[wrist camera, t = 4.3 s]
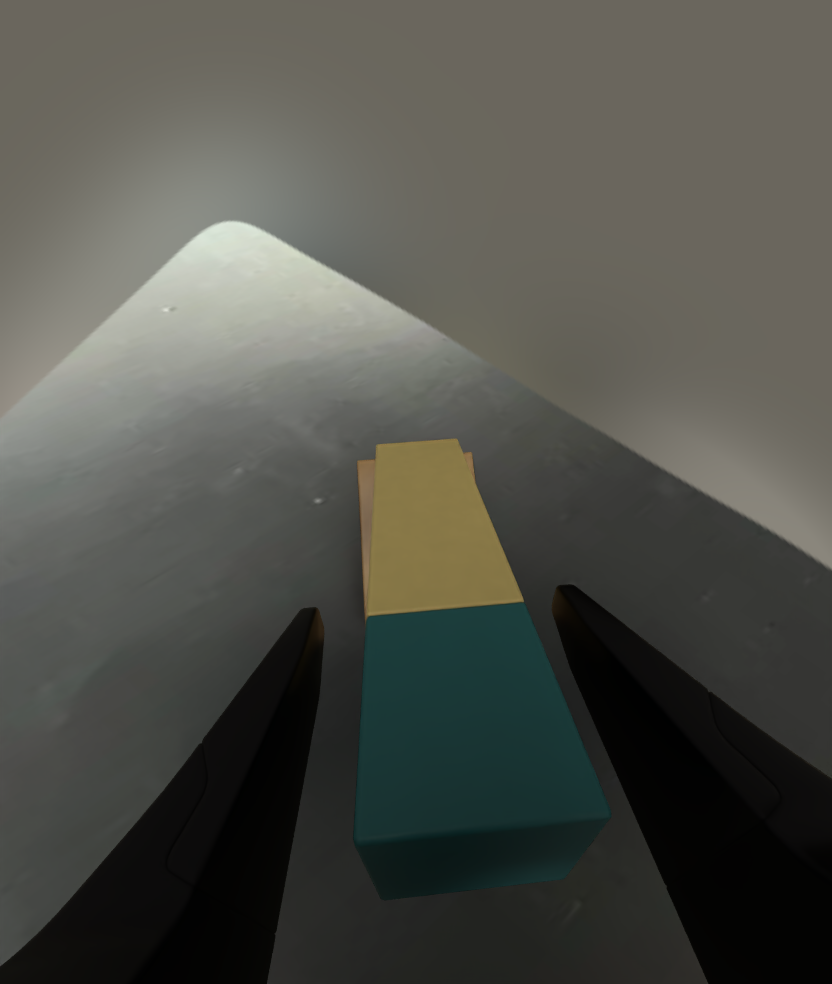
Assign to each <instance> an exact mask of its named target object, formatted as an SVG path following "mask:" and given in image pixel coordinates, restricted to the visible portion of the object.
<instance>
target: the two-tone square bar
mask: <svg viewBox="0 0 832 984" xmlns="http://www.w3.org/2000/svg"><path fill="white" fill-rule="evenodd" d="M523 602H524V599H523V597H522V594H521V592H520V590H519V587H518V585H517V582H516V580H515V577H514V575H513V573H512V570H511V568H510V565H509V563H508V561H507V558H506V556H505V553H504V551H503V548H502V546H501V544H500V541H499V539H498V536H497V534H496V532H495V529H494V527H493V524H492V522H491V520H490V517H489V515H488V512H487V510H486V507H485V505H484V503H483V500H482V498H481V495H480V493H479V491H478V488H477V486H476V483H475V481H474V478H473V476H472V474H471V471H470V469H469V466H468V464H467V462H466V459H465V457H464V454H463V452H462V449H461V447H460V445H459V442H458V440H457V439H445V440H431V441H417V442H404V443H390V444H378V445H376V457H375V475H374V492H373V509H372V526H371V543H370V560H369V577H368V594H367V611H366V615H367V620H366V629H365V646H364V663H363V680H362V698H361V715H360V732H359V749H358V766H357V783H356V800H355V817H354V835H353V840H354V844H355V847H356V849H357V851H358V853H359V855H360V857H361V859H362V861H363V863H364V865H365V867H366V869H367V871H368V873H369V876H370V878H371V880H372V882H373V884H374V886H375V888H376V890H377V892H378V894H379V896H380V898H381V899H382V900H392V899H400V898H409V897H417V896H426V895H434V894H443V893H451V892H460V891H468V890H477V889H485V888H494V887H502V886H511V885H519V884H528V883H536V882H545V881H553V880H561V879H564V878H565V877H566V876H567V875H568V873H569V872H570V871H571V869H572V868H573V867H574V865H575V864H576V863H577V861H578V860H579V859H580V857H581V856H582V855H583V853H584V852H585V851H586V850H587V848H588V847H589V846H590V844H591V843H592V842H593V840H594V839H595V838H596V836H597V835H598V834H599V832H600V831H601V830H602V828H603V827H604V826H605V824H606V823H607V822H608V820H609V819H610V818H611V810H610V807H609V805H608V802H607V800H606V797H605V795H604V793H603V790H602V788H601V785H600V783H599V781H598V778H597V776H596V773H595V771H594V769H593V766H592V764H591V761H590V759H589V756H588V754H587V752H586V749H585V747H584V744H583V742H582V740H581V737H580V735H579V732H578V730H577V727H576V725H575V723H574V720H573V718H572V715H571V713H570V711H569V708H568V706H567V703H566V701H565V698H564V696H563V694H562V691H561V689H560V686H559V684H558V682H557V679H556V677H555V674H554V672H553V669H552V667H551V665H550V662H549V660H548V657H547V655H546V653H545V650H544V648H543V645H542V643H541V640H540V638H539V636H538V633H537V631H536V628H535V626H534V624H533V621H532V619H531V616H530V614H529V611H528V609H527V607H526V604H525V603H523Z"/></svg>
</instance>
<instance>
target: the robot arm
mask: <svg viewBox="0 0 832 984" xmlns="http://www.w3.org/2000/svg"><path fill="white" fill-rule="evenodd" d="M552 613H553V616H554V620H555V623H556V626H557V629H558V632H559V635H560V638H561V641H562V645H563V648H564V651H565V654H566V657H567V660H568V663H569V666H570V669H571V671H572V674H573V676H574V679H575V681H576V683H577V685H578V688H579V690H580V692H581V694H582V697H583V699H584V701H585V704H586V706H587V708H588V710H589V713H590V715H591V717H592V719H593V722H594V724H595V726H596V729H597V731H598V733H599V735H600V738H601V740H602V742H603V745H604V747H605V749H606V751H607V754H608V756H609V758H610V760H611V763H612V765H613V767H614V770H615V772H616V774H617V776H618V779H619V781H620V783H621V785H622V788H623V790H624V792H625V795H626V797H627V799H628V801H629V804H630V806H631V808H632V810H633V813H634V815H635V817H636V820H637V822H638V824H639V826H640V829H641V831H642V833H643V835H644V838H645V840H646V842H647V845H648V847H649V849H650V851H651V854H652V856H653V858H654V861H655V863H656V865H657V867H658V870H659V872H660V874H661V876H662V879H663V881H664V883H665V885H666V886H667V891H668V893H669V895H670V897H671V900H672V902H673V904H674V907H675V909H676V911H677V913H678V916H679V918H680V920H681V922H682V925H683V927H684V929H685V932H686V934H687V936H688V938H689V941H690V943H691V945H692V948H693V950H694V952H695V954H696V957H697V959H698V961H699V963H700V966H701V968H702V970H703V973H704V975H705V977H706V979H707V982H708V984H832V779H831V778H830V777H828V776H827V775H825V774H824V773H823V772H821V771H820V770H818V769H817V768H815V767H814V766H812V765H811V764H809V763H808V762H807V761H805V760H804V759H802V758H801V757H799V756H798V755H796V754H795V753H793V752H792V751H791V750H789V749H788V748H786V747H785V746H783V745H782V744H781V743H779V742H778V741H776V740H775V739H774V738H772V737H771V736H769V735H768V734H767V733H765V732H764V731H762V730H761V729H760V728H758V727H757V726H755V725H754V724H753V723H751V722H750V721H749V720H747V719H746V718H745V717H743V716H742V715H741V714H739V713H738V712H737V711H735V710H734V709H733V708H732V707H730V706H729V705H728V704H726V703H725V702H724V701H722V700H721V699H720V698H719V697H717V696H716V695H715V694H713V693H712V692H708V689H707V688H706V687H704V686H703V685H702V684H700V683H699V682H698V681H697V680H695V679H694V678H693V677H691V676H690V675H689V674H688V673H686V672H685V671H684V670H682V669H681V668H680V667H679V666H677V665H676V664H675V663H673V662H672V661H671V660H670V659H668V658H667V657H666V656H664V655H663V654H662V653H661V652H659V651H658V650H657V649H655V648H654V647H653V646H652V645H650V644H649V643H648V642H646V641H645V640H644V639H643V638H641V637H640V636H639V635H637V634H636V633H635V632H634V631H632V630H631V629H630V628H629V627H627V626H626V625H625V624H623V623H622V622H621V621H620V620H618V619H617V618H616V617H614V616H613V615H612V614H611V613H609V612H608V611H607V610H605V609H604V608H603V607H602V606H600V605H599V604H598V603H596V602H595V601H594V600H593V599H591V598H590V597H589V596H587V595H586V594H585V593H584V592H582V591H581V590H580V589H578V588H577V587H576V586H574V585H572V584H568V585H559V586H557V587H556V590H555V594H554V598H553V602H552ZM323 645H324V626H323V622H322V619H321V616H320V613H319V610H318V608H316V607H312V608H303V609H301V610H300V611H299V613H298V614H297V615H296V616H295V618H294V619H293V620H292V622H291V623H290V624H289V626H288V627H287V628H286V630H285V631H284V632H283V634H282V635H281V636H280V638H279V639H278V640H277V642H276V643H275V644H274V646H273V647H272V648H271V650H270V651H269V652H268V654H267V655H266V656H265V658H264V659H263V660H262V662H261V663H260V664H259V666H258V667H257V668H256V670H255V671H254V672H253V674H252V675H251V676H250V678H249V679H248V680H247V682H246V683H245V684H244V686H243V687H242V688H241V690H240V691H239V692H238V694H237V695H236V696H235V697H234V699H233V700H232V701H231V703H230V704H229V705H228V707H227V708H226V709H225V711H224V712H223V713H222V715H221V716H220V717H219V719H218V720H217V721H216V723H215V724H214V725H213V727H212V728H211V729H210V731H209V732H208V733H207V735H206V736H205V737H204V739H203V740H202V744H199V745H198V746H197V748H196V749H195V750H194V752H193V753H192V754H191V756H190V757H189V758H188V760H187V761H186V762H185V764H184V765H183V766H182V767H181V769H180V770H179V771H178V773H177V774H176V775H175V776H174V778H173V779H172V780H171V781H170V783H169V784H168V785H167V787H166V788H165V789H164V790H163V792H162V793H161V794H160V795H159V796H158V798H157V799H156V800H155V801H154V802H153V803H152V805H151V806H150V807H149V808H148V809H147V811H146V812H145V813H144V814H143V815H142V817H141V818H140V819H139V820H138V821H137V823H136V824H135V825H134V826H133V827H132V828H131V829H130V831H129V832H128V833H127V834H126V835H125V836H124V838H123V839H122V840H121V841H120V842H119V843H118V844H117V846H116V847H115V848H114V849H113V850H112V851H111V853H110V854H109V855H108V856H107V857H106V858H105V859H104V861H103V862H102V863H101V864H100V865H99V866H98V868H97V869H96V870H95V871H94V872H93V873H92V874H91V876H90V877H89V878H88V879H87V880H86V881H85V883H84V884H83V885H82V886H81V887H80V888H79V889H78V891H77V892H76V893H75V894H74V895H73V896H72V897H71V899H70V900H69V901H68V902H67V903H66V904H65V905H64V906H63V908H62V909H61V910H60V911H59V912H58V913H57V914H56V915H55V916H54V917H53V918H52V919H51V920H50V922H49V923H48V924H47V925H46V926H45V927H44V928H43V929H42V930H41V931H40V932H39V933H38V934H37V935H35V936H34V937H33V938H32V939H31V940H30V941H29V942H28V943H27V944H26V945H25V946H24V947H23V948H22V949H20V950H19V951H18V952H17V953H16V954H15V955H14V956H12V957H11V958H10V959H9V960H8V961H6V962H5V963H4V964H3V965H1V966H0V984H267V980H268V974H269V969H270V963H271V958H272V953H273V947H274V942H275V934H274V933H276V930H277V925H278V919H279V914H280V908H281V903H282V897H283V892H284V887H285V881H286V876H287V870H288V865H289V859H290V854H291V849H292V843H293V838H294V832H295V827H296V821H297V816H298V810H299V805H300V800H301V794H302V789H303V783H304V778H305V772H306V767H307V762H308V756H309V751H310V745H311V740H312V734H313V729H314V724H315V718H316V713H317V707H318V701H319V695H320V685H321V672H322V659H323Z"/></svg>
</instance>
